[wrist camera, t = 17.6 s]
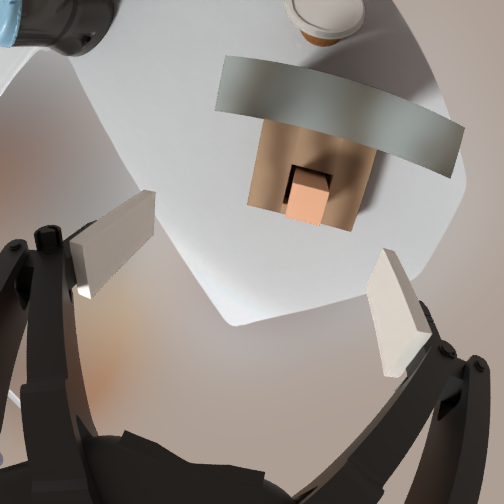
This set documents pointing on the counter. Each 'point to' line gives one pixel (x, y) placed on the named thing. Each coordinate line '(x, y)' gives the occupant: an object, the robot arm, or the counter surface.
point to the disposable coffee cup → (326, 19)
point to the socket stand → (329, 132)
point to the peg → (307, 196)
